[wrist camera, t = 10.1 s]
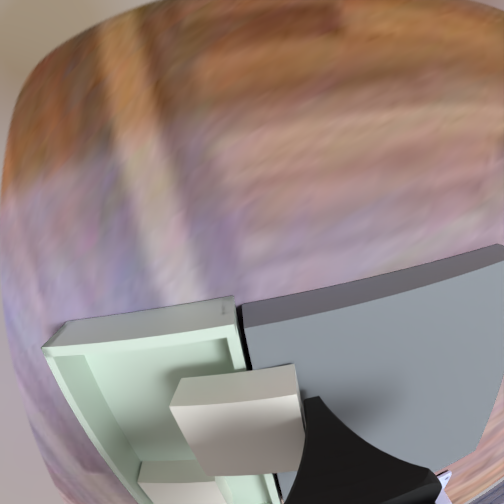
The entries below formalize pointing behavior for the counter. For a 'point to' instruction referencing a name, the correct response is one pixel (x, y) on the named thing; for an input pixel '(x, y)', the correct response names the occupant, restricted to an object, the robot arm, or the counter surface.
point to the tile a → (182, 483)
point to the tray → (148, 383)
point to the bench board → (396, 354)
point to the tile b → (242, 421)
